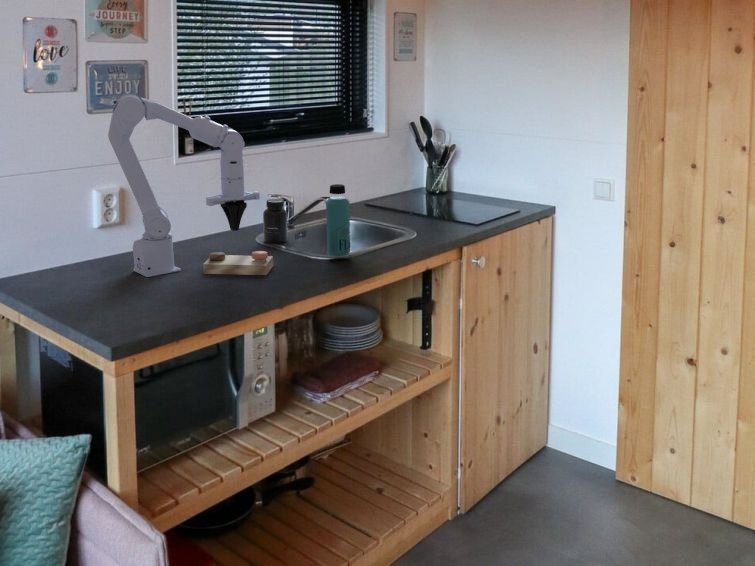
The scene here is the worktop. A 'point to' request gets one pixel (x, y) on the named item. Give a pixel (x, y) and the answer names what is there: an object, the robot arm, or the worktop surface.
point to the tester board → (238, 266)
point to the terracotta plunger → (259, 256)
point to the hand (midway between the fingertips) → (234, 229)
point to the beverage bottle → (338, 223)
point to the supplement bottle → (275, 222)
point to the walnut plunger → (217, 256)
